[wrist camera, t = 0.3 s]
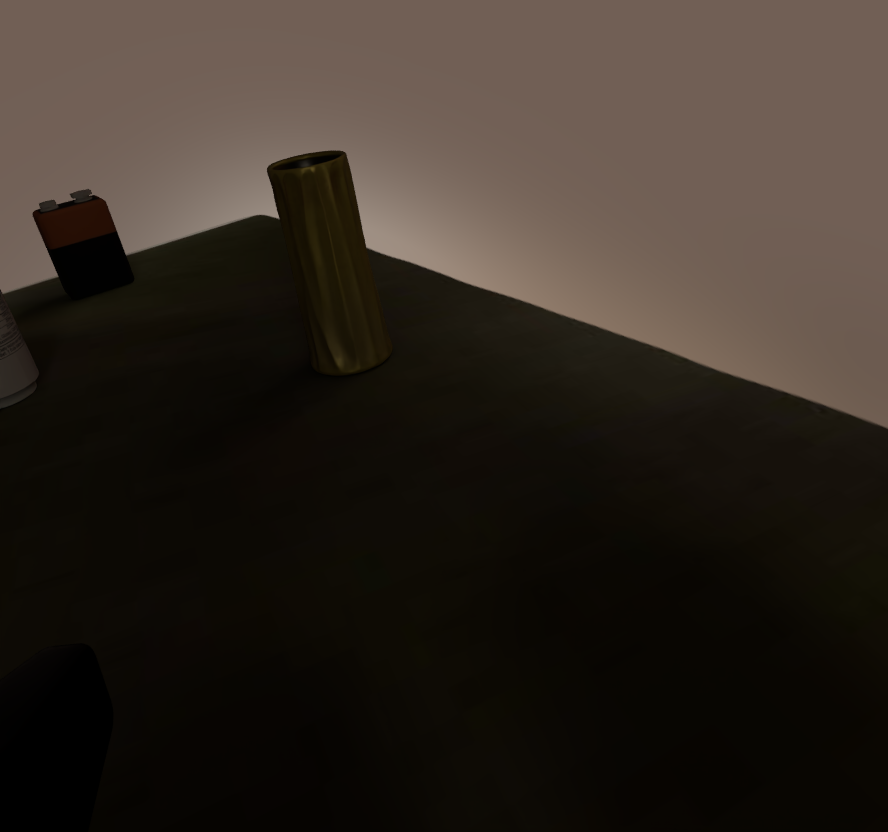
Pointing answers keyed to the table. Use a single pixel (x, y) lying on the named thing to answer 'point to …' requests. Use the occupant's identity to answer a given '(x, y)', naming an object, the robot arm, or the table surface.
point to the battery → (83, 245)
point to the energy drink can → (14, 361)
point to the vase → (330, 263)
